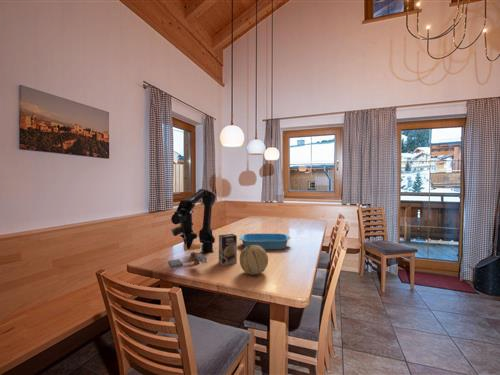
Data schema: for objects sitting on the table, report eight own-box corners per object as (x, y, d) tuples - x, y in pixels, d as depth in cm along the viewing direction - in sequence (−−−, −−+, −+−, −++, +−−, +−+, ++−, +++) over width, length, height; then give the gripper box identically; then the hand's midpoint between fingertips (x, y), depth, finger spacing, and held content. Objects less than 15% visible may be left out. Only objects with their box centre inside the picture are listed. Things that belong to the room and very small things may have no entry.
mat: (179, 260, 140) (179, 259, 140) (183, 265, 132) (183, 264, 132) (168, 262, 137) (168, 260, 137) (172, 267, 129) (172, 266, 129)
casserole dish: (237, 250, 160) (237, 240, 160) (240, 241, 182) (240, 232, 182) (292, 251, 158) (292, 240, 158) (288, 242, 180) (288, 233, 180)
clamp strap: (200, 257, 132) (200, 252, 132) (206, 262, 123) (206, 258, 123) (196, 257, 131) (196, 253, 131) (202, 263, 122) (202, 259, 122)
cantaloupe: (274, 273, 120) (274, 244, 120) (254, 282, 110) (253, 250, 109) (253, 265, 131) (253, 239, 130) (233, 273, 120) (233, 244, 120)
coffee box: (222, 265, 131) (222, 237, 130) (218, 262, 137) (218, 234, 136) (237, 263, 135) (237, 235, 135) (232, 259, 141) (232, 233, 140)
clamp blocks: (194, 258, 143) (194, 252, 142) (199, 263, 134) (199, 256, 134) (190, 259, 141) (190, 252, 141) (195, 264, 133) (195, 257, 133)
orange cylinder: (198, 247, 141) (198, 241, 141) (200, 249, 137) (200, 242, 137) (183, 250, 136) (183, 243, 136) (185, 251, 133) (185, 244, 133)
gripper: (169, 220, 139) (169, 246, 139) (176, 225, 123) (176, 254, 123) (187, 218, 144) (188, 243, 145) (197, 223, 128) (197, 251, 129)
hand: (187, 248), depth 135 cm, fingers closed on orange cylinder, 4 cm apart
